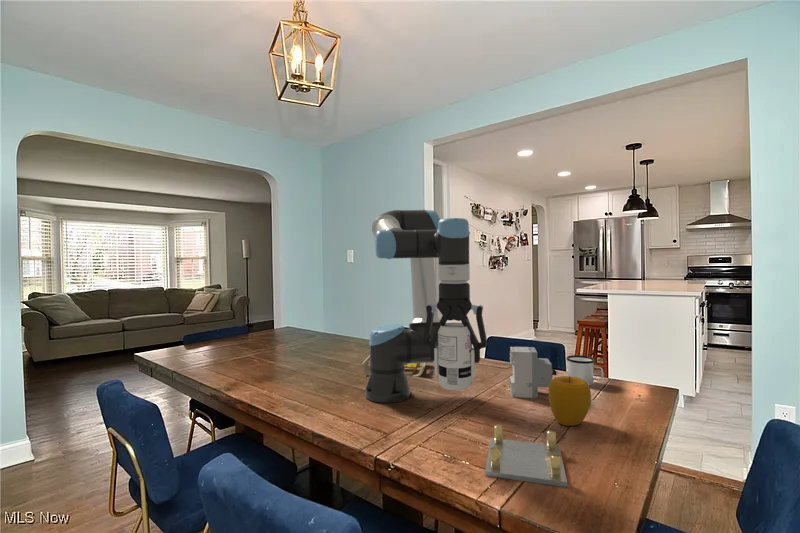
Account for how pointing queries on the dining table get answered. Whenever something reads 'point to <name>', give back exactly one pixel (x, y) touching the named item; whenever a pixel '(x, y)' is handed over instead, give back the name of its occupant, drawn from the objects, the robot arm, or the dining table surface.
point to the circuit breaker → (528, 372)
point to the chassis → (525, 460)
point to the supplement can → (454, 357)
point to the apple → (569, 399)
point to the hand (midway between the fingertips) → (455, 374)
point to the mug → (582, 368)
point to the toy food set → (410, 369)
